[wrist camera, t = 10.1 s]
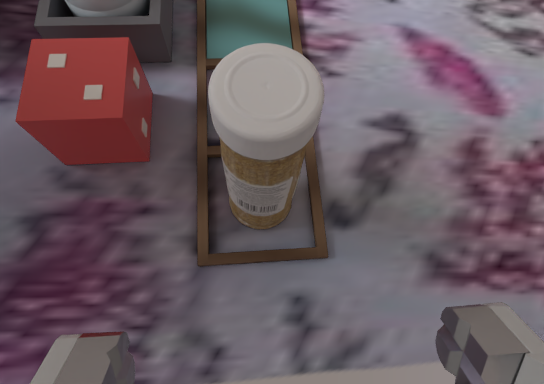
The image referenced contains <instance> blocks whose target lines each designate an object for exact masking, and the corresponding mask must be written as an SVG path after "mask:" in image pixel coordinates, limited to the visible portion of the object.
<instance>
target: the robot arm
mask: <svg viewBox="0 0 544 384" xmlns="http://www.w3.org/2000/svg"><path fill="white" fill-rule="evenodd" d="M440 319H441V320H442V322H443V323H444V326H443V327H442V328H440V329H439V330H438V331H437V336H436V348H437V353H438V356H439V359H440V361H441V363H442V364H443V366H444V368H445V369H446V370H447V371H449V372H450V373H452V374H453V375H455V376H456V380H455V384H544V342H543V341H542V340H541V339H540V338H539V337H538V336H537V335H536V334H535V333H534V332H533V331H532V330H531V329H530V328H529V327H528V326H527V325H526V324H525V323H524V322H523V321H522V320H521V319H520V317H519V316H518V315H517V314H516V313H515V312H514V311H513V310H512V309H511V308H510V307H509V306H508V305H506V304H504V303H502V302H501V303H489V304H482V305H481V304H478V305H466V306H454V307H446V308H445V309H444V310H443V311H442V314H441V318H440ZM129 344H130V341H129V338H128V334H127V333H126V332H124V331H123V332H103V333H83V334H72V335H61V336H60V337H59V338H57V339H56V340H55V342H54V343H53V345H52V347H51V349H50V350H49V352H48V354H47V355H46V357H45V359H44V361H43V362H42V364H41V366H40V367H39V369H38V371H37V372H36V374H35V376H34V378H33V379H32V381H31V383H30V384H134V379H135V362H134V358H133V355H131V354H130V353H129V352H128V351H127V350H128V347H129Z"/></svg>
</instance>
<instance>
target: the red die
mask: <svg viewBox="0 0 544 384" xmlns="http://www.w3.org/2000/svg"><path fill="white" fill-rule="evenodd" d="M152 96H153V93H152V91H151V88H150V86H149V84H148V81H147V79H146V77H145V74H144V72H143V70H142V67H141V65H140V63H139V60H138V58H137V56H136V53H135V51H134V48H133V46H132V44H131V41H130V39H129V37H120V38H65V39H32V40H31V45H30V50H29V55H28V60H27V65H26V70H25V75H24V80H23V85H22V90H21V95H20V100H19V106H18V111H17V116H16V122H17V123H18V124H19V125H20V126H21V127H22V128H24V129H25V130H26V131H27V132H28V133H29V134H31V135H32V136H33V137H34V138H35V139H36V140H37V141H39V142H40V143H41V144H42V145H43V146H44V147H46V148H47V149H48V150H49V151H50V152H51V153H52V154H54V155H55V156H56V157H57V158H58V159H59V160H60V161H62V162H63V163H64V164H65V165H76V164H99V163H122V162H146V161H149V158H150V138H151V117H152Z"/></svg>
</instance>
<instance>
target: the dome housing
mask: <svg viewBox="0 0 544 384" xmlns="http://www.w3.org/2000/svg"><path fill="white" fill-rule="evenodd" d="M172 18H173V0H150V9H149V16H101V17H74V15H73V14H72V12H71V10H70V8H69V7H68V5H67V3H66V1H65V0H39V3H38V8H37V13H36V18H35V23H34V27H35V28H36V30H37V31H38V32H39V34H40V35H41V37H42V38H43V39H65V38H120V37H129V39H130V41H131V44H132V46H133V48H134V51H135V53H136V56H137V58H138V60H139V62H171V54H172Z"/></svg>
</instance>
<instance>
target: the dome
mask: <svg viewBox="0 0 544 384" xmlns="http://www.w3.org/2000/svg"><path fill="white" fill-rule="evenodd" d="M65 1H66V3H67V5H68V7H69V8H70V10H71V12H72V14H73V15H74V17H101V16H147V14H148V13H149V9H150V0H65Z"/></svg>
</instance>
